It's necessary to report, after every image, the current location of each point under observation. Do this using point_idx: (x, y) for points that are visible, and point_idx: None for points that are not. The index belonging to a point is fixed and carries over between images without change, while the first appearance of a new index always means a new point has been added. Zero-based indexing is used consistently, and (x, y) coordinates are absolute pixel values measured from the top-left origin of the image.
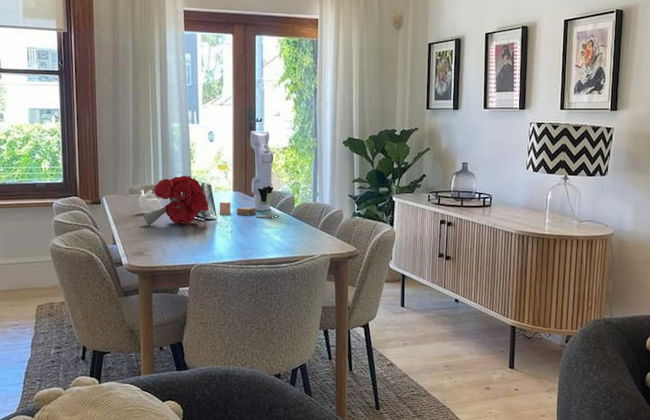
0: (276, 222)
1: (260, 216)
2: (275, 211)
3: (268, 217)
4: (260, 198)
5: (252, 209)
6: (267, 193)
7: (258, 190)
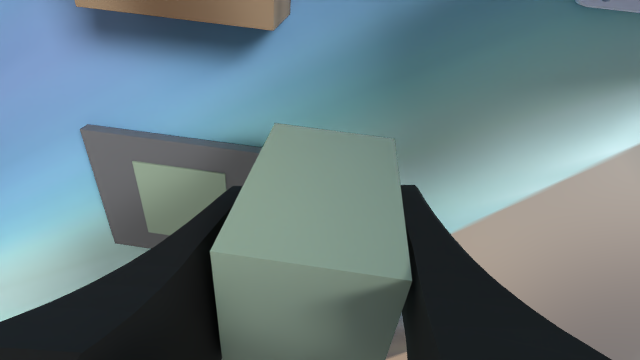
0: (53, 299)
1: (111, 166)
2: (609, 141)
3: (121, 233)
4: (249, 178)
5: (188, 17)
6: (292, 355)
7: (8, 322)
